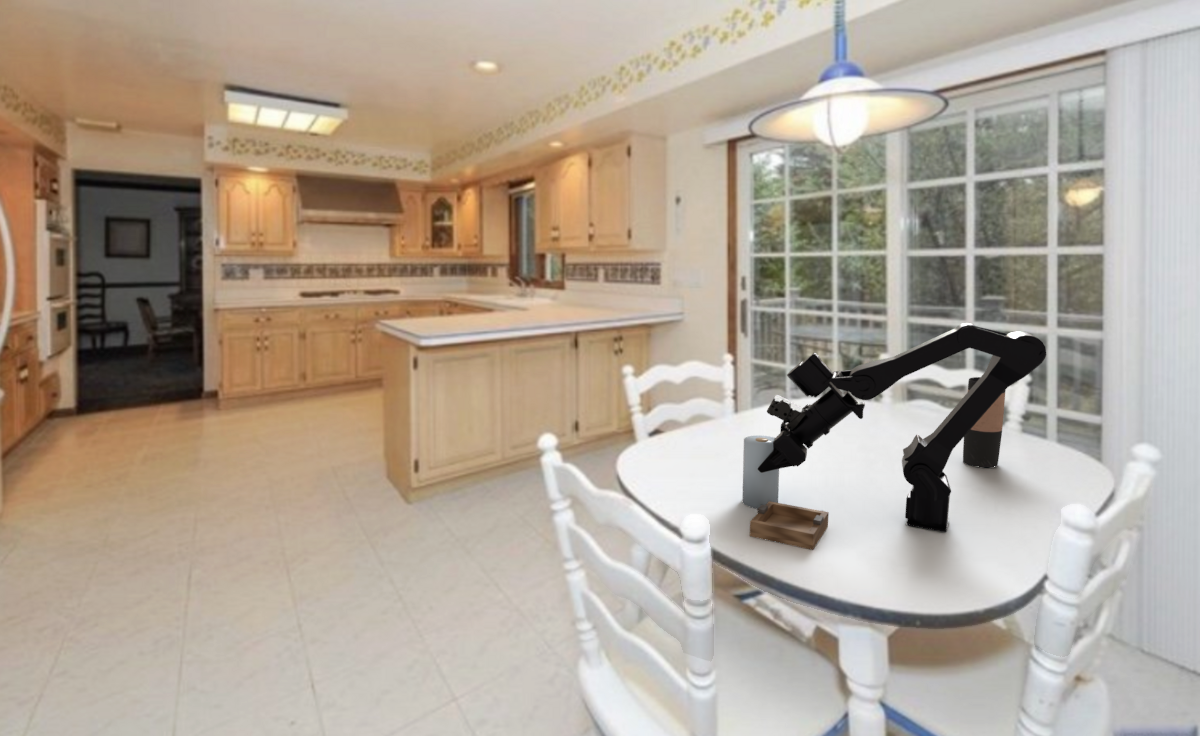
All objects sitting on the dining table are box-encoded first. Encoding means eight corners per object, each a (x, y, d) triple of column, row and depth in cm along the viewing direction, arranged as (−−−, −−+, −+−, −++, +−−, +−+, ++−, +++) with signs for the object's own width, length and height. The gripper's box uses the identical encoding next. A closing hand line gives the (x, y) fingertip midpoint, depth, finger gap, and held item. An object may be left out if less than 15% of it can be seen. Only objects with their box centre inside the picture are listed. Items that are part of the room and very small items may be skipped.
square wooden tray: (828, 526, 119) (829, 508, 118) (813, 550, 109) (814, 530, 109) (768, 514, 124) (768, 497, 124) (749, 536, 115) (749, 517, 115)
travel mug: (956, 457, 157) (962, 376, 153) (990, 458, 156) (997, 377, 152) (969, 468, 149) (976, 383, 146) (1005, 469, 148) (1013, 383, 145)
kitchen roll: (782, 499, 132) (784, 437, 130) (771, 511, 126) (773, 446, 124) (749, 493, 136) (750, 432, 133) (737, 504, 130) (738, 441, 127)
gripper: (798, 374, 133) (742, 422, 139) (789, 393, 116) (725, 446, 122) (836, 415, 131) (778, 461, 137) (833, 439, 114) (767, 491, 120)
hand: (762, 463), depth 129 cm, fingers open, 9 cm apart
